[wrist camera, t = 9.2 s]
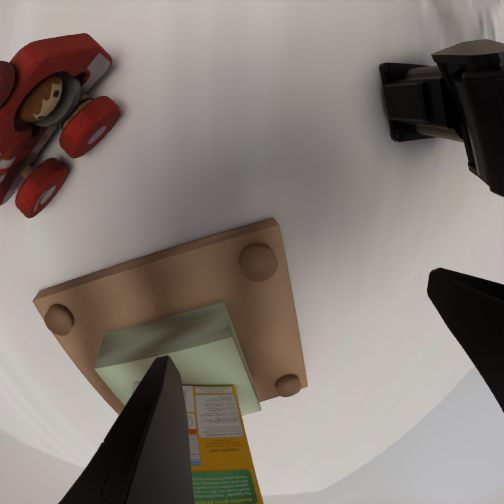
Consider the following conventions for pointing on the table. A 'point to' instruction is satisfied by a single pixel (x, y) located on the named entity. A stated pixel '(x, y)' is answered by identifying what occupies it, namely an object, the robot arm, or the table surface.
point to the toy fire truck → (49, 114)
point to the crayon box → (219, 447)
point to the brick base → (187, 289)
